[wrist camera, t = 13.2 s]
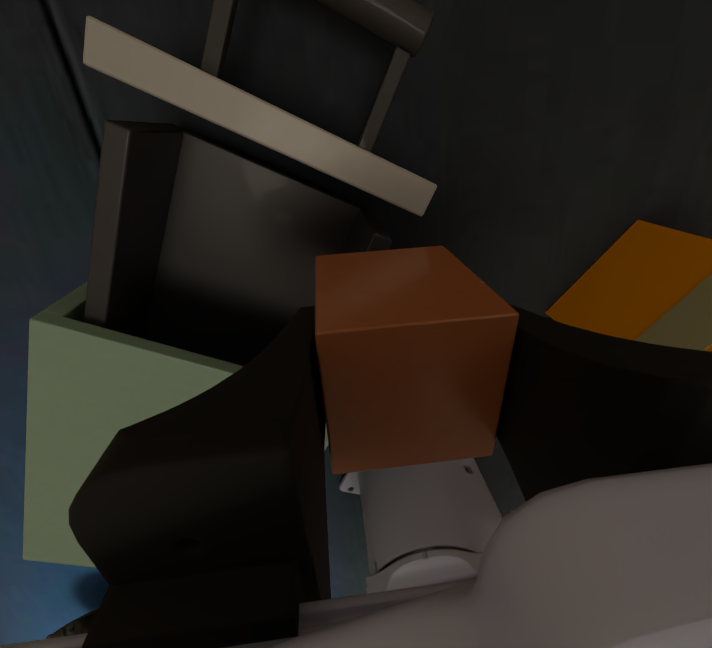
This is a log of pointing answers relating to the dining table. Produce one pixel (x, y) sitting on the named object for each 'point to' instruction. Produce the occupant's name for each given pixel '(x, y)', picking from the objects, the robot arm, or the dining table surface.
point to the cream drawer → (231, 194)
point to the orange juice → (646, 290)
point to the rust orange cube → (409, 358)
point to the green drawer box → (90, 410)
